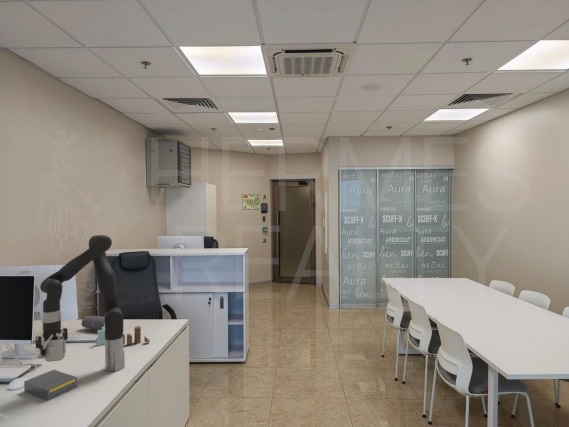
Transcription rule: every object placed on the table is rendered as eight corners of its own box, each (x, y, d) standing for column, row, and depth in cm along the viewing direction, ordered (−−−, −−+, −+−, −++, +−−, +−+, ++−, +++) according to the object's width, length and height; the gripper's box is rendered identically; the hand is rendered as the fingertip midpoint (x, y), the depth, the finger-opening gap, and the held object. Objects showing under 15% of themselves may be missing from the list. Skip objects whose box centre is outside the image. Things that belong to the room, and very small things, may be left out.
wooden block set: (119, 349, 224) (119, 333, 223) (118, 343, 231) (119, 328, 231) (149, 344, 232) (150, 329, 231) (148, 339, 240) (148, 324, 239)
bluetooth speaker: (80, 330, 258) (80, 317, 258) (91, 326, 267) (90, 313, 267) (105, 333, 252) (105, 319, 252) (115, 329, 261) (115, 315, 261)
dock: (77, 387, 176) (77, 377, 176) (47, 400, 164) (47, 390, 163) (53, 379, 185) (53, 369, 184) (24, 391, 172) (24, 381, 172)
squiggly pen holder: (114, 343, 233) (113, 329, 233) (97, 345, 230) (97, 331, 230) (117, 334, 250) (117, 321, 250) (101, 336, 247) (101, 323, 247)
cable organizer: (45, 358, 176) (44, 337, 176) (68, 357, 177) (67, 335, 177) (38, 363, 170) (37, 341, 170) (62, 362, 171) (61, 340, 171)
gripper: (40, 325, 165) (41, 360, 165) (71, 316, 178) (71, 349, 178) (31, 323, 168) (32, 357, 169) (61, 314, 181) (62, 346, 181)
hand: (52, 352), depth 173 cm, fingers closed on cable organizer, 7 cm apart
